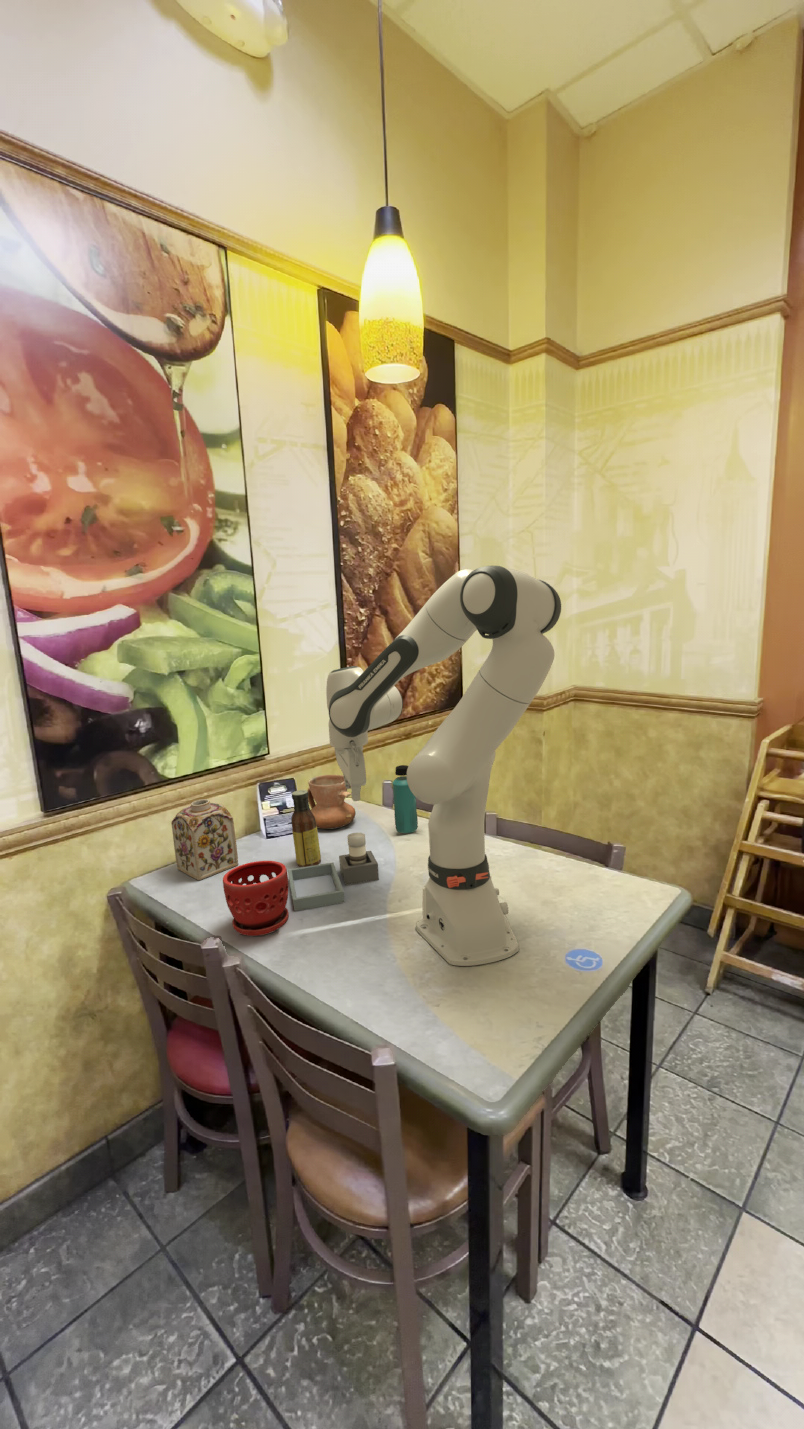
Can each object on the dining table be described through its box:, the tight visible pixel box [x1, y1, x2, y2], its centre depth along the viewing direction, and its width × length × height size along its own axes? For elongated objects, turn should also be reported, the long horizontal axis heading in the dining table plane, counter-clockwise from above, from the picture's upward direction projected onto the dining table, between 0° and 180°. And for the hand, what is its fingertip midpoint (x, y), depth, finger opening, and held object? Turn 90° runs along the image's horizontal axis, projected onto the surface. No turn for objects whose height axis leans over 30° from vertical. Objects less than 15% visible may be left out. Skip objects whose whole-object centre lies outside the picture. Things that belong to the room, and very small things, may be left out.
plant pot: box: [222, 860, 290, 937], centre depth 127 cm, size 13×13×12 cm
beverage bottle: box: [392, 764, 419, 834], centre depth 171 cm, size 6×7×20 cm
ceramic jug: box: [306, 774, 357, 830], centre depth 183 cm, size 18×14×14 cm
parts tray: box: [287, 862, 346, 912], centre depth 140 cm, size 16×11×4 cm
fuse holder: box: [338, 850, 380, 886], centre depth 146 cm, size 8×8×5 cm
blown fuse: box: [347, 832, 367, 866], centre depth 146 cm, size 4×4×10 cm
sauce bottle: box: [290, 789, 322, 868], centre depth 154 cm, size 6×6×20 cm
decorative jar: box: [170, 798, 239, 881], centre depth 157 cm, size 12×12×18 cm
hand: (352, 793), depth 143 cm, fingers open, 8 cm apart
